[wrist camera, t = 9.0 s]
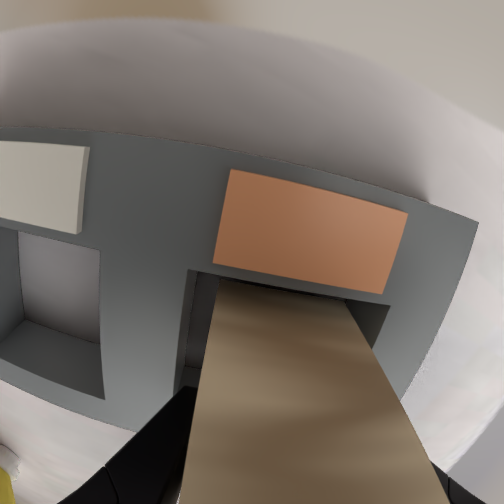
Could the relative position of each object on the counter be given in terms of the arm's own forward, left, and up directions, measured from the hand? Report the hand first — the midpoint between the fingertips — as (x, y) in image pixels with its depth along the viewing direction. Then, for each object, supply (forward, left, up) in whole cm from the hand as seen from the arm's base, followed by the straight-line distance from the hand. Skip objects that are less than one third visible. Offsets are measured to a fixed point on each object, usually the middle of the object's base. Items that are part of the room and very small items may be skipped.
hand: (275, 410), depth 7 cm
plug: (0, 0, -3) cm, 3 cm away
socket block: (+4, +1, -4) cm, 6 cm away
